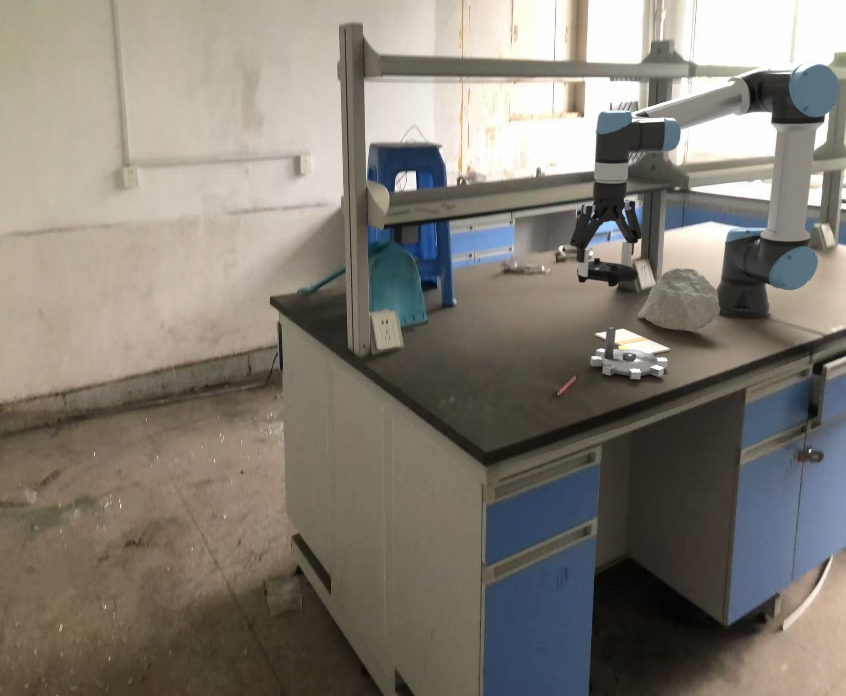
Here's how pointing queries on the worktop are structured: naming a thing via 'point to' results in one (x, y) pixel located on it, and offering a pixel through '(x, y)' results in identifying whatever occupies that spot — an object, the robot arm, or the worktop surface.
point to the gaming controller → (608, 272)
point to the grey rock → (681, 301)
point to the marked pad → (634, 341)
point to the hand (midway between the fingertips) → (604, 272)
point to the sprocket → (627, 359)
